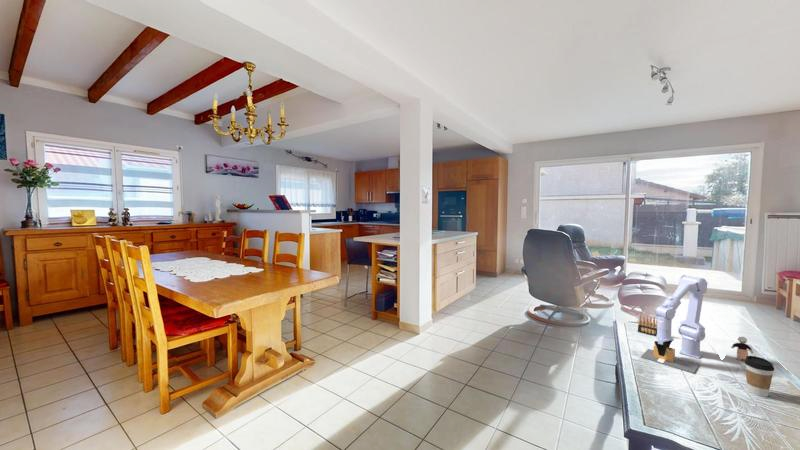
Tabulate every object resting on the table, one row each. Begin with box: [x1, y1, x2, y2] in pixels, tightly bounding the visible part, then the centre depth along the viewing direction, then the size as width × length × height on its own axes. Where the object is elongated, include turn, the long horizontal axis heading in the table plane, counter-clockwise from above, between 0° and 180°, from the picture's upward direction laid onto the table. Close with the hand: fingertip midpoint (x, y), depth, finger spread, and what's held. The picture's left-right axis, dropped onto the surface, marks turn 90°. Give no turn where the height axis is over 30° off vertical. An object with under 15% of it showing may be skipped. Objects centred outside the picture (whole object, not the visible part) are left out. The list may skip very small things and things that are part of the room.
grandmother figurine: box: [730, 336, 754, 362], centre depth 158 cm, size 8×4×13 cm, turn 54°
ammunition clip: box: [637, 314, 657, 337], centre depth 192 cm, size 11×2×12 cm, turn 38°
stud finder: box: [653, 344, 676, 362], centre depth 160 cm, size 4×8×6 cm, turn 37°
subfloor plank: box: [640, 348, 700, 375], centre depth 158 cm, size 14×21×1 cm, turn 37°
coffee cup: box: [743, 355, 775, 398], centre depth 130 cm, size 8×8×15 cm
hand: (663, 353), depth 160 cm, fingers open, 7 cm apart
